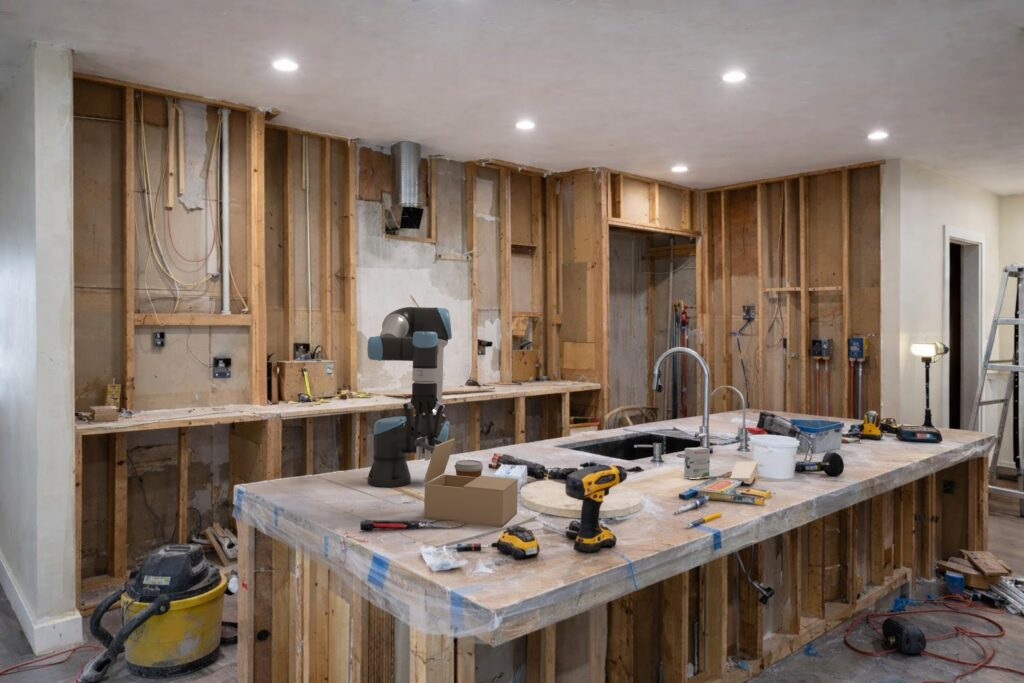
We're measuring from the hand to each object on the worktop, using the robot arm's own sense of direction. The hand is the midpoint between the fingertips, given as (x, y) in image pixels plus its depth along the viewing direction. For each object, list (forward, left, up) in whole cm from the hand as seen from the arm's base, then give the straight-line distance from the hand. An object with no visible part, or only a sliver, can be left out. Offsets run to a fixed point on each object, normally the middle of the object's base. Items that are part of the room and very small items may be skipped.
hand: (423, 459), depth 208 cm
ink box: (-82, +79, -16) cm, 115 cm away
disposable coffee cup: (-19, +8, -16) cm, 26 cm away
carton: (0, +16, -16) cm, 22 cm away
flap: (0, +6, 0) cm, 6 cm away
